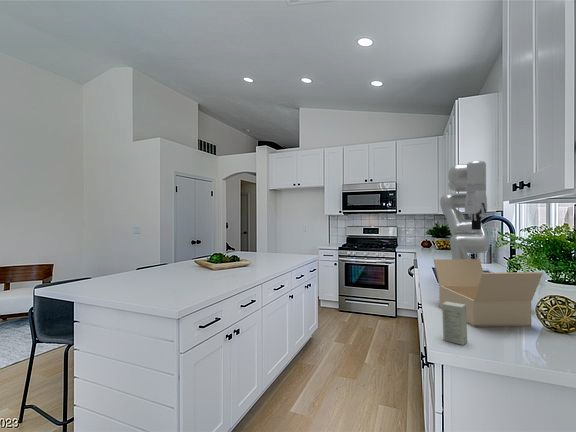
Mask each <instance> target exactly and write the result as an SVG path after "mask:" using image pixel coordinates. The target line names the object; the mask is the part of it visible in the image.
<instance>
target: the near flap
mask: <svg viewBox="0 0 576 432" xmlns="http://www.w3.org/2000/svg"><path fill="white" fill-rule="evenodd" d="M433 263H434V268H435V272H436V277H437V282H438V286H450V285H478V284H479V281H480V278H481V275H482V273H484V269H483V266H482V263H481V259H480V258H479V259H478V258H471V259H452V258H451V259H449V258H447V259H446V258H445V259H443V258H442V259H440V258H439V259H438V258H437V259H433Z"/></svg>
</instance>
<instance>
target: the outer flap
mask: <svg viewBox="0 0 576 432" xmlns="http://www.w3.org/2000/svg"><path fill="white" fill-rule="evenodd" d="M543 274H544V272H542V271H541V272H540V271H539V272H538V271H537V272H536V271H535V272H529V271H528V272H526V271H525V272H523V271H522V272H520V271H519V272H516V271H515V272H513V271H512V272H483V273H482V275H481V278H480V281H479V284H478V288H477V291H476V294H475V298H474V301H531V302H533V299H534V297H535V294H536V292H537V289H538V286H539V284H540V281H541V278H542V276H543Z"/></svg>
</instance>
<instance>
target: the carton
mask: <svg viewBox="0 0 576 432" xmlns="http://www.w3.org/2000/svg"><path fill="white" fill-rule="evenodd" d="M438 286H439V285H438ZM438 288H439V289H438V290H439V292H438V293H439V295H438V299H439V300H438V302H439V303H438V304H439V306H438V307H439V308H440V309H442V304H443V303H445V302H453V303H459V304H465V305H466V318H467V325H469V326H471V327H472V328H499V327H500V328H501V327H503V328H504V327H505V328H506V327H508V328H509V327H510V328H511V327H532V301H474V298H475V294H476V291H477V288H478V285H468V286H450V285H446V286H439V287H438Z"/></svg>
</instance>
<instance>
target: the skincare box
mask: <svg viewBox="0 0 576 432" xmlns="http://www.w3.org/2000/svg"><path fill="white" fill-rule="evenodd" d="M467 327H468V324H467V318H466V305H465V304H459V303H453V302H445V303H443V304H442V333H443V335H442V336H443V337H442V339H443V341H445V342H448V343H449V342H450V343H453V344H457V345H461V346H464V345H465V344H466V343H467V342H468V328H467Z"/></svg>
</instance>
